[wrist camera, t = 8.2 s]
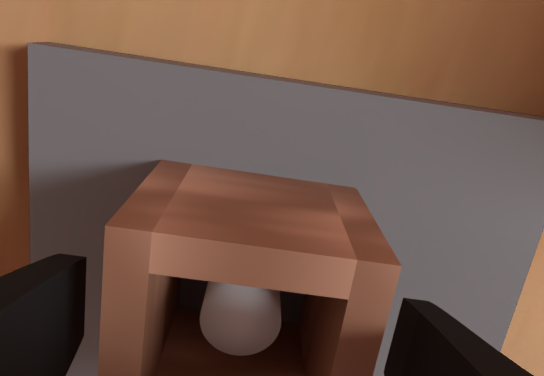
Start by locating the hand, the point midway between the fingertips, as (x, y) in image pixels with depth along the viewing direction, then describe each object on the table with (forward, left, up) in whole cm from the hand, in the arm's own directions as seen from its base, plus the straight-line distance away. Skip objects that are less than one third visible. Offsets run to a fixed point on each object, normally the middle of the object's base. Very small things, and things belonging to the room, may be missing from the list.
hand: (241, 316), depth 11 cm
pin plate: (-1, +3, -4) cm, 5 cm away
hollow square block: (0, 0, -3) cm, 3 cm away
